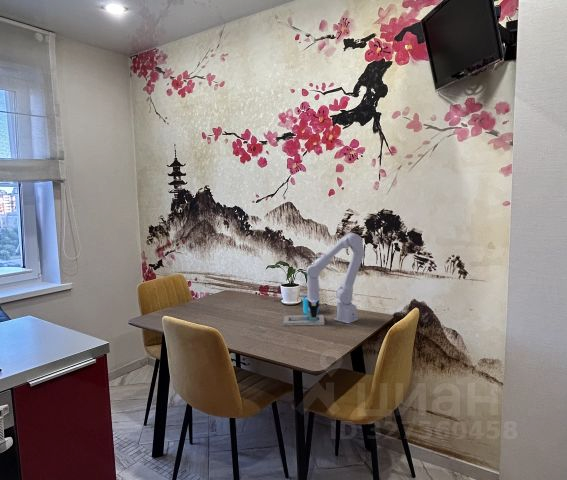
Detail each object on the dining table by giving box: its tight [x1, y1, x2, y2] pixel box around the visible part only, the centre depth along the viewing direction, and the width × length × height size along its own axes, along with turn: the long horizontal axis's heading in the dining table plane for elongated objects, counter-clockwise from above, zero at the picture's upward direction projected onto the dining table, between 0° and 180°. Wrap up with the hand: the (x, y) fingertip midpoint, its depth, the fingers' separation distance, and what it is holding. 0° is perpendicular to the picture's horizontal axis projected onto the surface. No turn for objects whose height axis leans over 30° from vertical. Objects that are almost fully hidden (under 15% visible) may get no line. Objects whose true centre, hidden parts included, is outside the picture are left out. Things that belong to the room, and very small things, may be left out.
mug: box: [302, 295, 320, 315], centre depth 217 cm, size 12×8×8 cm
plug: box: [308, 308, 318, 321], centre depth 200 cm, size 4×4×7 cm
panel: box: [283, 314, 325, 327], centre depth 200 cm, size 20×11×2 cm, turn 87°
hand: (313, 315), depth 200 cm, fingers closed on plug, 4 cm apart
